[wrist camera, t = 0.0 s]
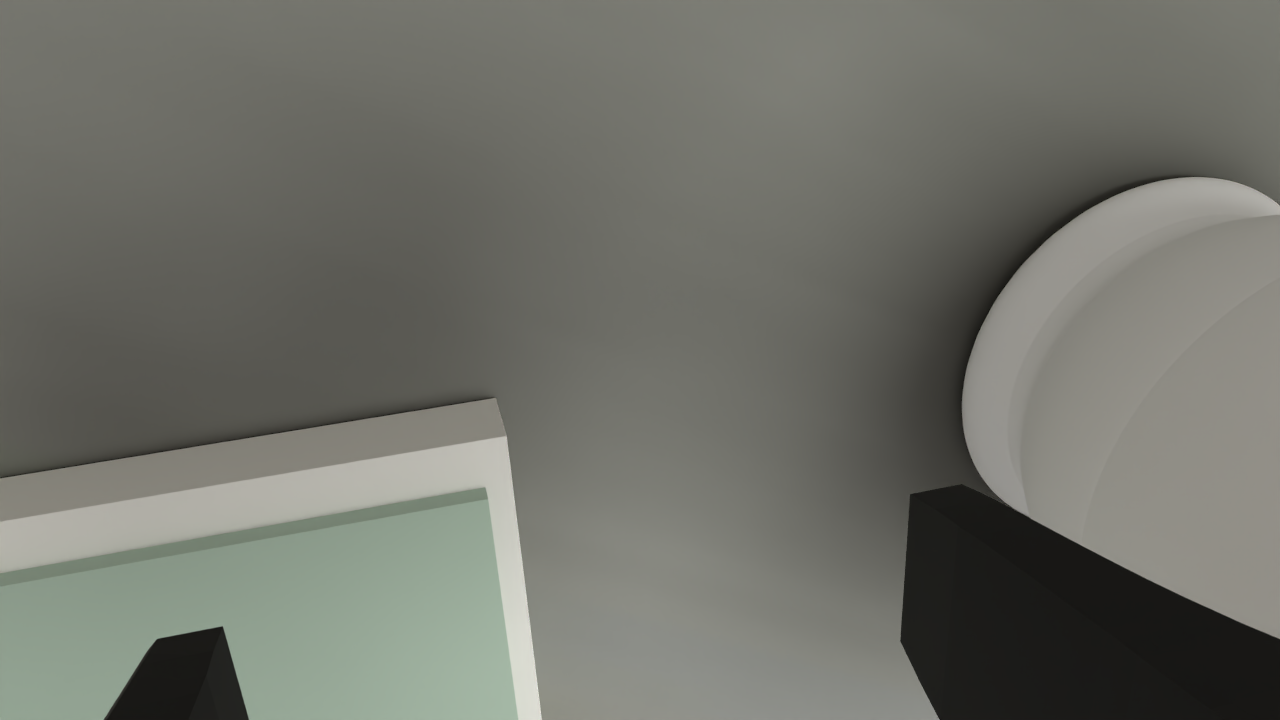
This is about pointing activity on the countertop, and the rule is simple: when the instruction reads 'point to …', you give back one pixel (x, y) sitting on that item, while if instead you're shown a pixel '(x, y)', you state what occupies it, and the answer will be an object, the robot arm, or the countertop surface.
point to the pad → (280, 618)
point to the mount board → (279, 496)
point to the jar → (1146, 390)
